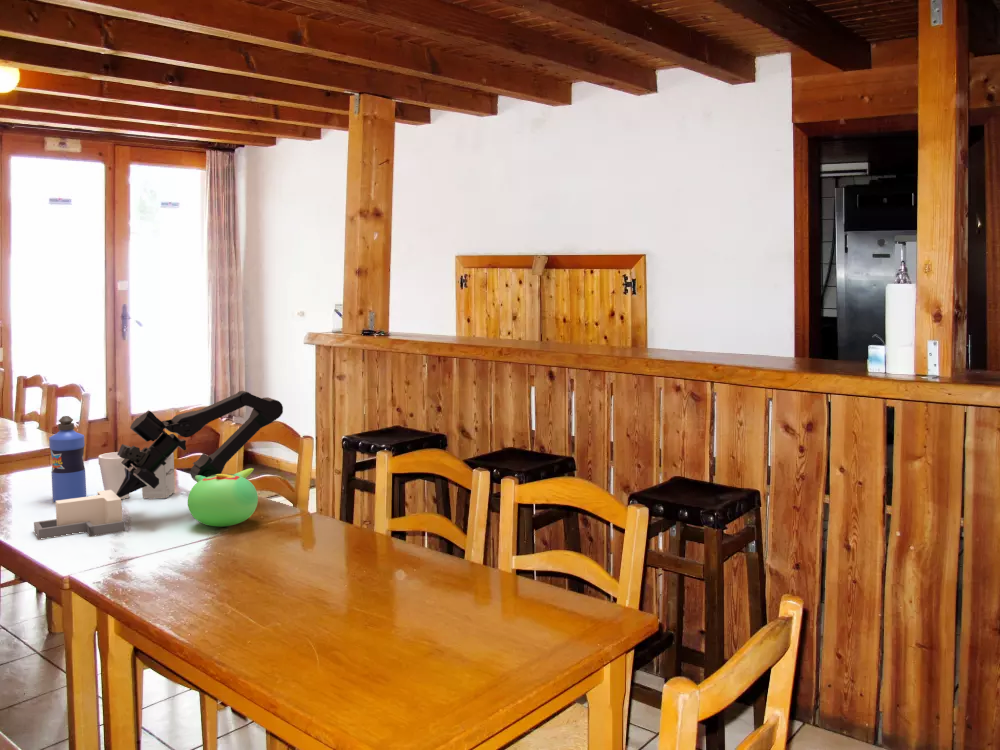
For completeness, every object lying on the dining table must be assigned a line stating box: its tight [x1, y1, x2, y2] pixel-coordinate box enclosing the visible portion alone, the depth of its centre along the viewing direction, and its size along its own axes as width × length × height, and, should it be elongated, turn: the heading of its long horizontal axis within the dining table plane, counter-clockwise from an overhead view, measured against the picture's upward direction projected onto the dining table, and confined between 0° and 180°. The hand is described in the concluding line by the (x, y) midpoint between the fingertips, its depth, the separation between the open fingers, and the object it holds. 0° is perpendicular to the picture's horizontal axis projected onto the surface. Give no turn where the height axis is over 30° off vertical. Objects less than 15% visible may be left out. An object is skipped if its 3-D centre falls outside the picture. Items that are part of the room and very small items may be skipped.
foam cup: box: [97, 451, 130, 500], centre depth 263 cm, size 10×9×13 cm
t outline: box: [33, 518, 126, 540], centre depth 231 cm, size 20×17×2 cm
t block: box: [55, 490, 123, 526], centre depth 233 cm, size 14×12×8 cm
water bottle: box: [48, 415, 87, 503], centre depth 259 cm, size 9×9×25 cm
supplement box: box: [141, 452, 176, 499], centre depth 266 cm, size 7×7×13 cm
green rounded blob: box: [187, 467, 259, 528], centre depth 236 cm, size 18×17×15 cm
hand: (117, 496), depth 237 cm, fingers closed
